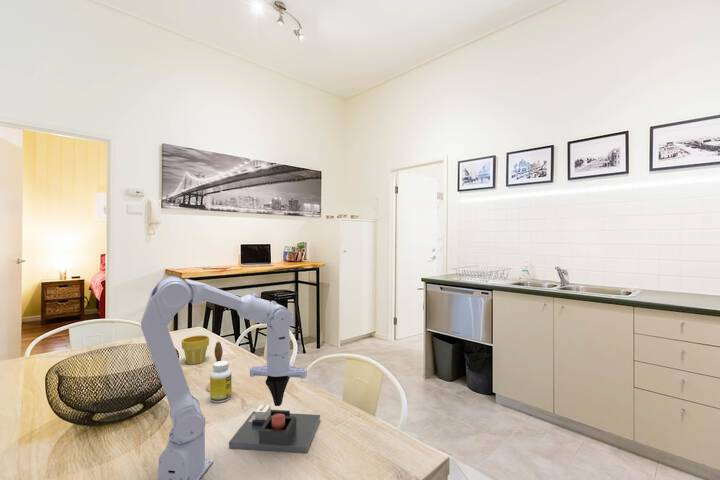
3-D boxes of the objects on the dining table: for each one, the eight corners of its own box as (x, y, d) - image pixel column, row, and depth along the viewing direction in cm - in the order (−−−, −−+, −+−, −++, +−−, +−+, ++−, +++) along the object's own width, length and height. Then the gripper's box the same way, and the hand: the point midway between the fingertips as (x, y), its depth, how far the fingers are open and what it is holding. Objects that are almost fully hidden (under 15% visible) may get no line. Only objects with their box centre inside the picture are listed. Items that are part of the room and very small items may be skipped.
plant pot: (184, 358, 148) (184, 336, 148) (210, 356, 151) (210, 334, 151) (179, 367, 138) (179, 343, 138) (207, 364, 141) (207, 341, 141)
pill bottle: (224, 404, 108) (223, 367, 108) (205, 402, 109) (205, 366, 109) (235, 395, 114) (235, 360, 114) (218, 393, 116) (218, 359, 116)
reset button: (282, 431, 87) (282, 420, 87) (269, 430, 87) (269, 420, 87) (286, 423, 90) (286, 413, 90) (274, 422, 90) (274, 413, 90)
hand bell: (231, 390, 118) (231, 344, 118) (205, 394, 115) (205, 347, 115) (231, 380, 126) (231, 337, 125) (206, 384, 123) (206, 339, 122)
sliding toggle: (265, 422, 94) (265, 409, 94) (255, 422, 95) (254, 409, 95) (270, 415, 98) (270, 402, 98) (260, 414, 99) (260, 402, 99)
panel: (307, 453, 84) (307, 433, 84) (229, 447, 86) (228, 429, 86) (320, 420, 99) (320, 403, 99) (253, 416, 101) (253, 400, 101)
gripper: (309, 347, 91) (309, 398, 92) (257, 345, 93) (257, 395, 93) (302, 357, 84) (302, 411, 85) (246, 355, 86) (246, 408, 86)
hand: (278, 404), depth 88 cm, fingers closed
